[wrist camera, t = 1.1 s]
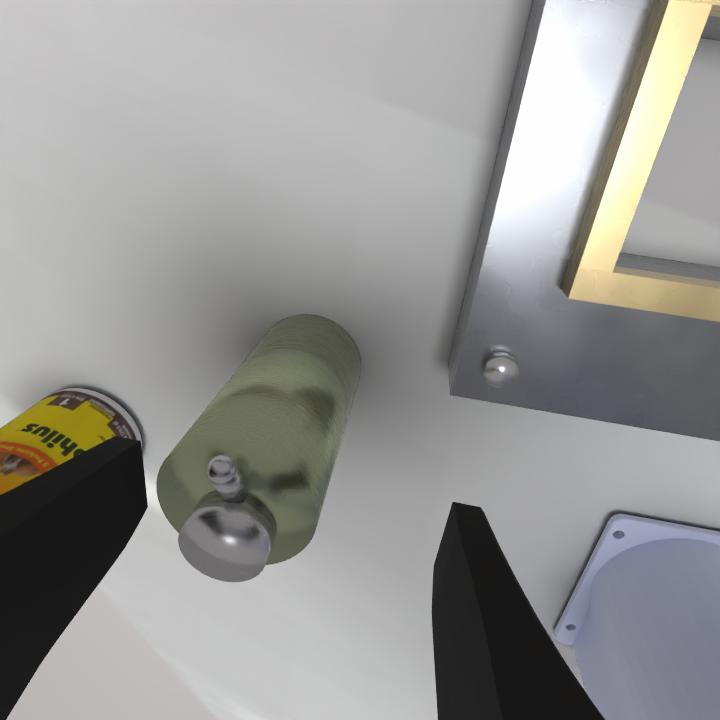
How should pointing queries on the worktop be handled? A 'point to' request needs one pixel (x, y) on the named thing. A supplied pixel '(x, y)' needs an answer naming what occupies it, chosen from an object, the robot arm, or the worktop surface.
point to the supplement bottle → (59, 433)
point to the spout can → (263, 452)
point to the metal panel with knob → (590, 230)
